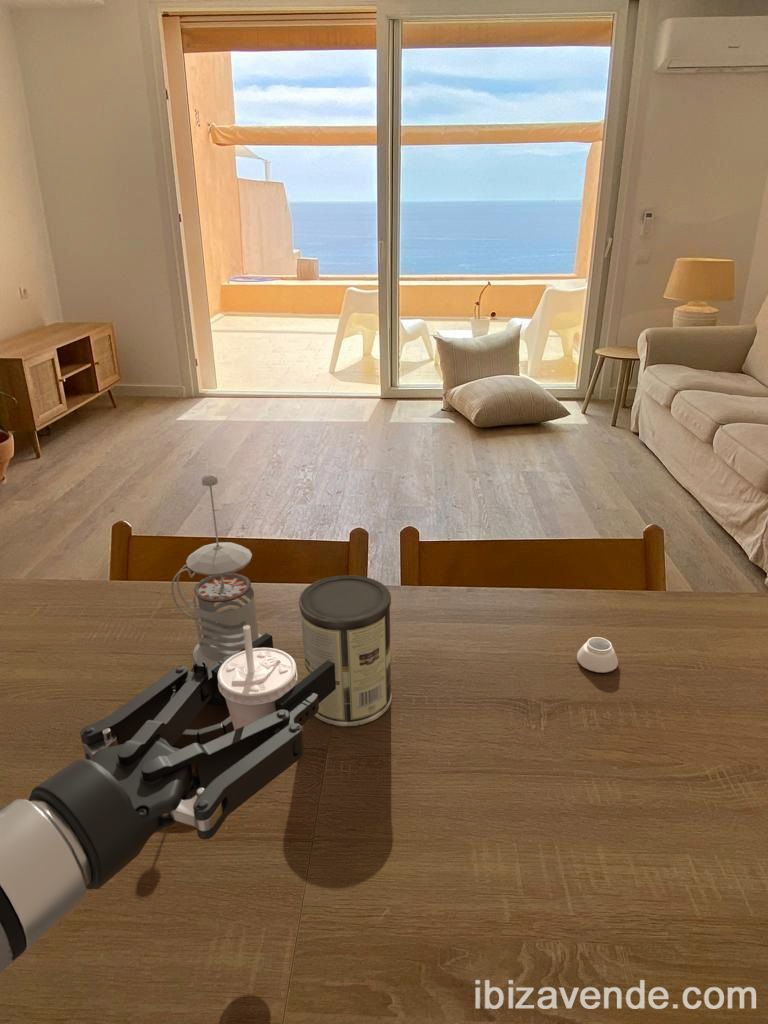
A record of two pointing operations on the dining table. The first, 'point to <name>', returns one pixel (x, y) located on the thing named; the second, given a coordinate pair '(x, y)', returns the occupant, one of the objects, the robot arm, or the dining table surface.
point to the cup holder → (207, 724)
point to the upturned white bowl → (597, 655)
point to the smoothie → (255, 681)
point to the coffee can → (349, 645)
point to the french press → (220, 596)
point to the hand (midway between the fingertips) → (299, 660)
